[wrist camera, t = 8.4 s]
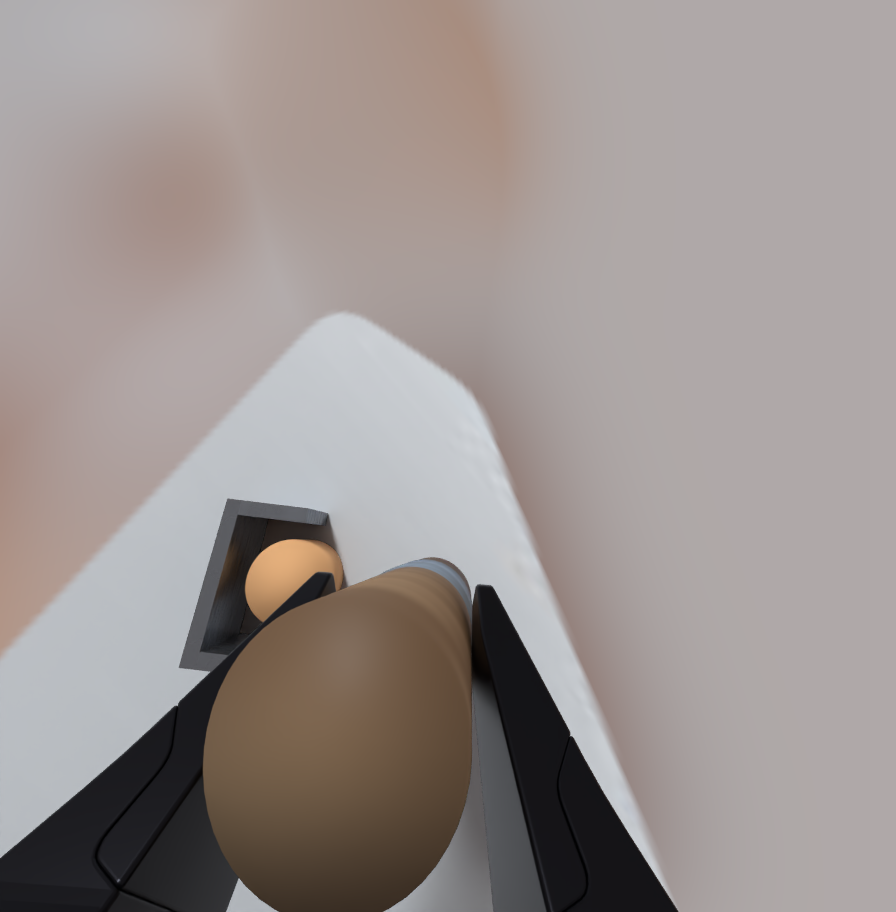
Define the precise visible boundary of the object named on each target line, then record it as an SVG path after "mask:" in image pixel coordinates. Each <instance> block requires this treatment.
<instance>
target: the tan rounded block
mask: <svg viewBox="0 0 896 912" xmlns="http://www.w3.org/2000/svg"><path fill="white" fill-rule="evenodd" d="M316 572H331V573H332V574H333V575H334V580H335V587H336V592H337V591H339V590H340V588H341V585H342V581H343V566H342V562H341V560H340V557H339V556H338V554H337V553H336V551H335V550H334V549H333V548H332V547H331V546H329V545H328V544H326V543H324V542H321V541H318V540H301V539H291V540H284V541H280V542H277V543H275V544H273V545H271V546H269V547H268V548H266V549H265V550H264V551H262V552H261V553H260V554H259V555H258V557H257V558H256V559H255V560H254V562H253V564H252V565H251V567H250V569H249V572H248V575H247V578H246V585H245V594H246V599H247V602H248V605H249V607H250V609H251V611H252V612H253V614H254V615H255V616H256V617H257V618H258V619H259V620H261V621H262V622H264V621H265V620H266V619H267V618H268V617H269V616H270V615H271V614H272V613H273V612H274V611H275V610H276V609H278V608H279V607H280V606H281V605H282V604H283V603H284V602H285V601H286V600H287V599H288V598H289V597H290V596H291V595H292V594H293V593H294V592H295V591H297V590H298V589H299V588H300V587H301V586H302V585H303V584H304V583H305V582H306V581H307V580H308V579H309V578H310V577H311V576H312V575H313V574H315V573H316Z"/></svg>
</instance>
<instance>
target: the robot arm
mask: <svg viewBox="0 0 896 912" xmlns="http://www.w3.org/2000/svg"><path fill="white" fill-rule="evenodd" d="M334 592H336V587H335V580H334V575H333V574H332V573H331V572H316V573H315V574H313V575H312V576H311V577H310V578H309V579H308V580H307V581H306V582H305V583H304V584H303V585H302V586H301V587H300V588H299V589H298V590H297V591H295V592H294V593H293V594H292V595H291V596H290V597H289V598H288V599H287V600H286V601H285V602H284V603H283V604H282V605H281V606H280V607H279V608H278V609H276V610H275V611H274V612H273V613H272V614H271V615H270V616H269V617H268V618H267V619H266V620H265V621H264V622H263V623H262V624H261V625H260V626H259V627H258V628H256V629H255V630H254V631H253V632H252V633H251V634H250V635H249V636H248V637H247V638H246V639H245V640H244V641H243V642H242V643H241V644H240V645H239V646H237V647H236V648H235V649H234V650H233V651H232V652H231V653H230V654H229V655H228V656H227V657H226V658H225V659H224V660H223V661H222V662H221V663H220V664H219V665H217V666H216V667H215V668H214V669H213V670H212V671H211V672H210V673H209V674H208V675H207V676H206V677H205V678H204V679H203V680H202V681H201V682H200V683H199V684H197V685H196V686H195V687H194V688H193V689H192V690H191V691H190V692H189V693H188V694H187V695H186V696H185V697H184V698H183V699H182V700H181V701H180V702H179V703H178V706H174V707H173V708H172V709H171V710H170V711H169V712H168V713H167V714H166V715H165V716H164V717H162V718H161V719H160V720H159V721H158V722H157V723H156V724H155V725H154V726H153V727H152V728H151V729H150V730H149V731H147V732H146V733H145V734H144V735H143V736H142V737H141V738H140V739H139V740H138V741H137V742H135V743H134V744H133V745H132V746H131V747H130V748H129V749H128V750H127V751H126V752H125V753H124V754H122V755H121V756H120V757H119V758H118V759H117V760H116V761H114V762H113V763H112V764H111V765H110V766H109V767H107V768H106V769H105V770H104V771H103V772H102V773H100V774H99V775H98V776H97V777H96V778H95V779H94V780H92V781H91V782H90V783H89V784H88V785H87V786H85V787H84V788H83V789H82V790H81V791H80V792H78V793H77V794H76V795H75V796H74V797H72V798H71V799H70V800H69V801H68V802H66V803H65V804H64V805H63V806H62V807H61V808H59V809H58V810H57V811H56V812H55V813H53V814H52V815H51V816H50V817H49V818H47V819H46V820H45V821H44V822H43V823H41V824H40V825H39V826H38V827H37V828H36V829H34V830H33V831H32V832H31V833H30V834H28V835H27V836H26V837H25V838H24V839H22V840H21V841H20V842H19V843H18V844H17V845H15V846H14V847H13V848H12V849H11V850H9V851H8V852H7V853H6V854H5V855H3V856H2V857H1V858H0V912H226V910H227V908H228V905H229V902H230V900H231V897H232V894H233V892H234V889H235V886H236V884H237V881H238V878H239V877H238V876H237V875H236V873H235V872H234V871H233V870H232V868H231V866H230V865H229V863H228V861H227V860H226V858H225V856H224V854H223V853H222V851H221V848H220V846H219V844H218V841H217V839H216V837H215V834H214V832H213V829H212V825H211V822H210V818H209V815H208V811H207V805H206V799H205V793H204V780H203V757H204V745H205V738H206V732H207V727H208V723H209V719H210V715H211V711H212V708H213V705H214V702H215V700H216V697H217V694H218V692H219V689H220V687H221V685H222V683H223V681H224V679H225V677H226V675H227V673H228V671H229V670H230V668H231V667H232V665H233V663H234V662H235V660H236V659H237V657H238V656H239V655H240V653H241V652H242V651H243V650H244V648H245V647H246V646H247V645H248V643H249V642H250V641H251V640H252V639H253V638H254V637H255V636H256V635H257V634H258V633H259V632H260V631H261V630H262V629H263V628H265V627H266V626H267V625H269V624H270V623H271V622H272V621H274V620H275V619H276V618H278V617H280V616H281V615H283V614H285V613H286V612H288V611H290V610H292V609H294V608H296V607H299V606H301V605H303V604H305V603H308V602H311V601H313V600H316V599H318V598H321V597H324V596H326V595H329V594H331V593H334ZM471 665H472V688H473V699H474V709H475V720H476V730H477V741H478V752H479V762H480V773H481V784H482V794H483V805H484V815H485V826H486V837H487V847H488V858H489V869H490V879H491V890H492V900H493V911H494V912H678V910H677V909H676V907H675V905H674V904H673V902H672V901H671V899H670V898H669V896H668V894H667V893H666V891H665V890H664V888H663V887H662V885H661V883H660V882H659V880H658V879H657V877H656V876H655V874H654V872H653V871H652V869H651V868H650V866H649V865H648V863H647V861H646V860H645V858H644V857H643V855H642V854H641V852H640V850H639V849H638V847H637V846H636V844H635V843H634V841H633V839H632V838H631V836H630V835H629V833H628V832H627V830H626V828H625V827H624V825H623V823H622V822H621V820H620V819H619V817H618V815H617V814H616V812H615V810H614V809H613V807H612V805H611V804H610V802H609V801H608V799H607V797H606V796H605V794H604V792H603V791H602V789H601V787H600V785H599V784H598V782H597V780H596V778H595V776H594V775H593V773H592V771H591V769H590V767H589V766H588V764H587V762H586V760H585V759H584V757H583V755H582V753H581V751H580V749H579V747H578V745H577V743H576V742H575V740H574V738H573V737H572V736H570V731H569V729H568V727H567V725H566V723H565V721H564V719H563V718H562V716H561V714H560V712H559V710H558V708H557V706H556V704H555V703H554V701H553V699H552V697H551V695H550V693H549V691H548V689H547V687H546V686H545V684H544V682H543V680H542V678H541V676H540V674H539V672H538V671H537V669H536V667H535V665H534V663H533V661H532V659H531V657H530V656H529V654H528V652H527V650H526V648H525V646H524V644H523V642H522V641H521V639H520V637H519V635H518V633H517V631H516V629H515V627H514V625H513V624H512V622H511V620H510V618H509V616H508V614H507V612H506V610H505V609H504V607H503V605H502V603H501V601H500V599H499V597H498V595H497V594H496V592H495V590H494V588H493V587H492V586H491V585H481V584H478V585H477V586H476V589H475V594H474V600H473V606H472V657H471Z"/></svg>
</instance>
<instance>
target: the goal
mask: <svg viewBox="0 0 896 912" xmlns="http://www.w3.org/2000/svg"><path fill="white" fill-rule="evenodd" d="M327 515H328V513H324V512H320V511H316V510H312V509H308V508H300V507H292V506H284V505H276V504H267V503H259V502H251V501H242V500H234V499H227V502H226V505H225V509H224V512H223V516H222V519H221V523H220V526H219V530H218V533H217V537H216V540H215V544H214V547H213V551H212V554H211V557H210V561H209V564H208V568H207V571H206V575H205V578H204V582H203V585H202V589H201V592H200V596H199V599H198V603H197V606H196V609H195V613H194V616H193V620H192V623H191V627H190V630H189V634H188V637H187V641H186V644H185V648H184V651H183V655H182V658H181V662H180V665H179V668H185V669H193V670H202V671H210V672H211V671H212V670H213V669H214V668H215V667H216V666H217V665H219V664H220V663H221V662H222V661H223V660H224V659H225V658H226V657H227V656H228V655H229V654H230V653H231V652H232V651H233V650H234V649H235V648H236V647H237V646H239V645H240V644H241V643H242V642H243V641H244V640H245V639H246V638H247V637H248V636H249V635H250V634H242V633H240V629H241V625H242V621H243V617H244V613H245V609H246V605H247V599H246V594H245V585H246V578H247V575H248V572H249V569H250V567H251V565H252V564H253V562H254V560H255V559H256V558H257V557H258V555H259V553H260V550H261V546H262V542H263V538H264V534H265V530H266V526H267V522H268V519H274V520H283V521H291V522H299V523H307V524H316V525H324V526H325V525H326V520H327Z"/></svg>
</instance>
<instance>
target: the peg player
mask: <svg viewBox="0 0 896 912" xmlns="http://www.w3.org/2000/svg"><path fill="white" fill-rule="evenodd" d="M471 649H472V600H471V591H470V587H469V584H468V582H467V580H466V578H465V576H464V574H463V573H462V572H461V571H460V570H459V569H458V567H456V566H455V565H454V564H452V563H451V562H449V561H447V560H444V559H441V558H435V557H430V558H424V559H420V560H415V561H412V562H408V563H406V564H403V565H400V566H397V567H395V568H392V569H390V570H387V571H385V572H383V573H382V574H380V575H378V576H376V577H373V578H370V579H368V580H365V581H363V582H360V583H357V584H355V585H352V586H350V587H347V588H344V589H342V590H339V591H337V592H334V593H331V594H329V595H326V596H324V597H321V598H318V599H316V600H313V601H311V602H308V603H305V604H303V605H301V606H299V607H296V608H294V609H292V610H290V611H288V612H286V613H285V614H283V615H281V616H280V617H278V618H276V619H275V620H274V621H272V622H271V623H270V624H269V625H267V626H266V627H265V628H263V629H262V630H261V631H260V632H259V633H258V634H257V635H256V636H255V637H254V638H253V639H252V640H251V641H250V642H249V643H248V645H247V646H246V647H245V648H244V650H243V651H242V652H241V653H240V655H239V656H238V657H237V659H236V660H235V662H234V663H233V665H232V667H231V668H230V670H229V671H228V673H227V675H226V677H225V679H224V681H223V683H222V685H221V687H220V689H219V692H218V694H217V697H216V700H215V702H214V705H213V708H212V711H211V715H210V719H209V723H208V727H207V732H206V738H205V745H204V757H203V780H204V793H205V799H206V805H207V811H208V815H209V818H210V822H211V825H212V829H213V832H214V834H215V837H216V839H217V841H218V844H219V846H220V848H221V851H222V853H223V854H224V856H225V858H226V860H227V861H228V863H229V865H230V866H231V868H232V870H233V871H234V872H235V873H236V875H237V876H238V877H239V878H240V880H241V881H242V882H243V884H244V885H245V886H246V887H247V888H248V889H249V890H250V891H252V892H253V893H254V894H255V895H256V896H257V897H258V898H259V899H260V900H262V901H263V902H265V903H266V904H268V905H269V906H271V907H272V908H273V909H275V910H277V911H279V912H383V911H385V910H387V909H389V908H391V907H392V906H394V905H395V904H397V903H398V902H400V901H401V900H403V899H404V898H406V897H407V896H408V895H409V894H410V893H411V892H412V891H414V890H415V889H416V888H417V887H418V886H419V885H420V884H421V883H422V882H423V881H424V880H425V879H426V877H427V876H428V875H429V874H430V873H431V871H432V870H433V869H434V868H435V867H436V865H437V864H438V862H439V861H440V859H441V857H442V856H443V854H444V853H445V851H446V849H447V848H448V846H449V844H450V842H451V840H452V838H453V835H454V833H455V831H456V829H457V827H458V824H459V821H460V818H461V815H462V812H463V809H464V806H465V802H466V798H467V793H468V788H469V783H470V774H471V763H472V665H471Z"/></svg>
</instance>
